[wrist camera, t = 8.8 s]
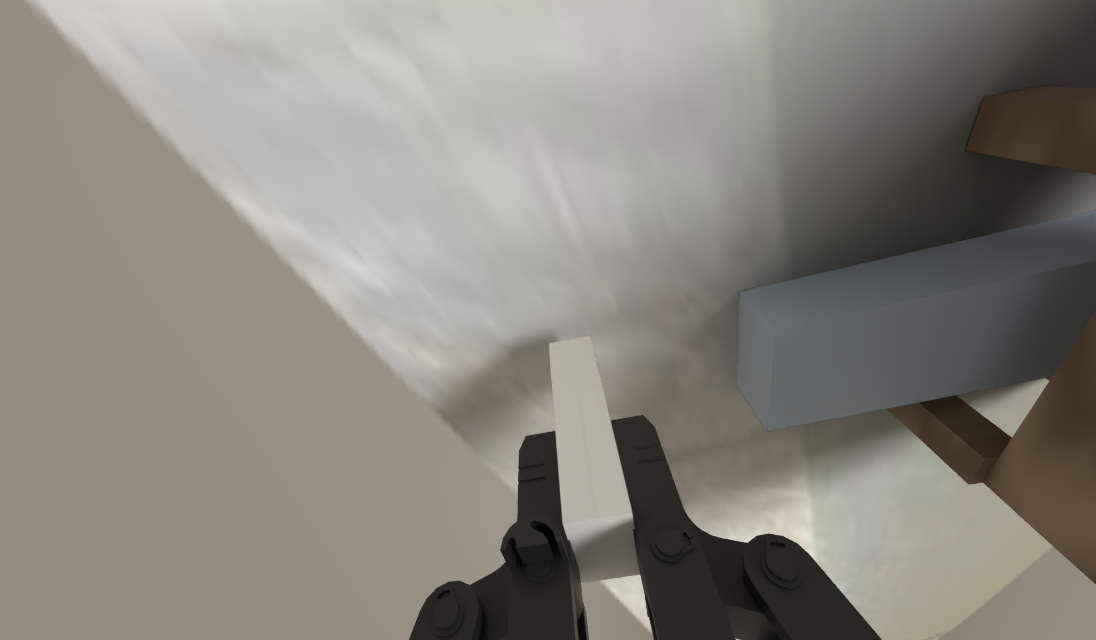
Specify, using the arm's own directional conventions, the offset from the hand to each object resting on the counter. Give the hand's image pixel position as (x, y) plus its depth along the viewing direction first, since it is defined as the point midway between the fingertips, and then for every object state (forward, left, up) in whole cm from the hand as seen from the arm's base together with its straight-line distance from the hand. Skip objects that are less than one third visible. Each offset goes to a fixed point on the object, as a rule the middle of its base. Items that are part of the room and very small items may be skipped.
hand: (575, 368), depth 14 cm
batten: (+1, +14, -2) cm, 15 cm away
